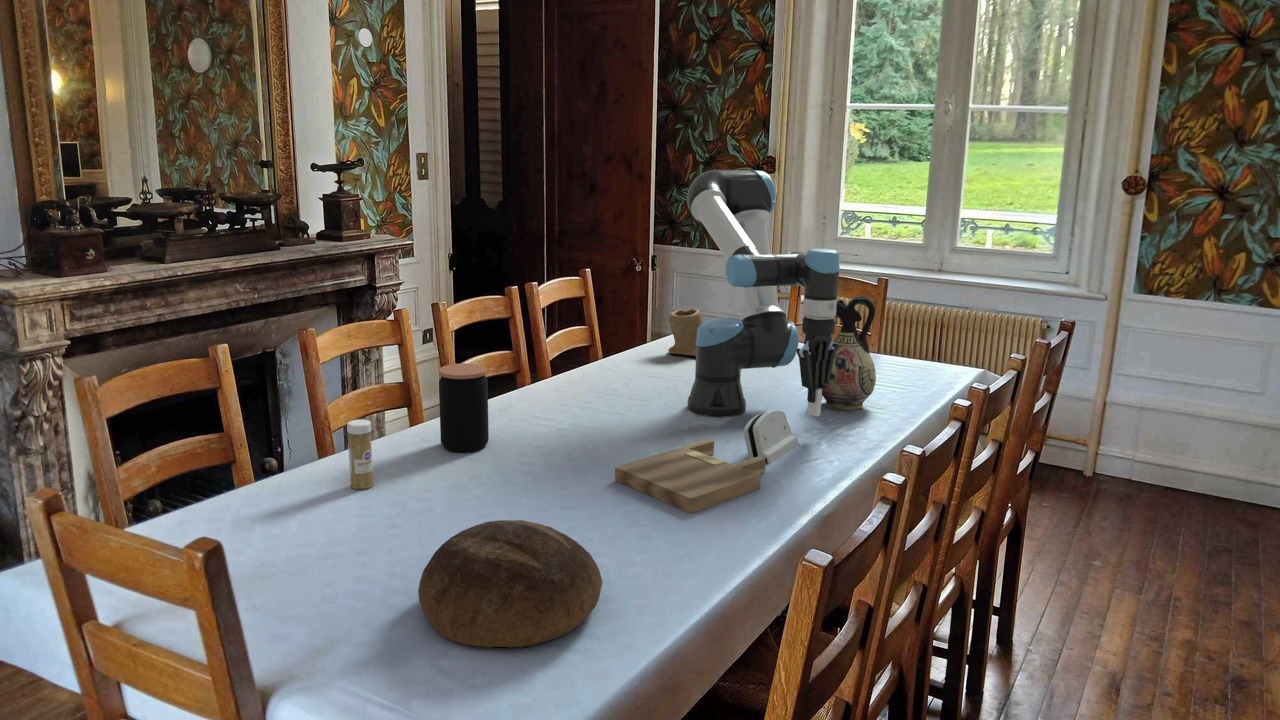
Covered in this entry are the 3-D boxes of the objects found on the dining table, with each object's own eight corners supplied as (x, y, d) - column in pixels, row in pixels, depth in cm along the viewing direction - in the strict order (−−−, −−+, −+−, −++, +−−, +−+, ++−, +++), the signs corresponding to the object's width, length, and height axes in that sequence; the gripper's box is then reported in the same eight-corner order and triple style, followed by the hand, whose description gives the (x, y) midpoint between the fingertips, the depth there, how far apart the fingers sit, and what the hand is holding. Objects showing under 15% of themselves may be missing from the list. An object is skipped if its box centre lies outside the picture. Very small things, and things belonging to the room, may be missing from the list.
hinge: (769, 464, 208) (757, 420, 207) (750, 467, 211) (738, 424, 210) (799, 444, 222) (788, 402, 221) (781, 446, 224) (770, 406, 224)
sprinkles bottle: (365, 491, 188) (362, 426, 185) (345, 488, 189) (341, 424, 186) (378, 483, 192) (375, 420, 189) (358, 480, 194) (355, 417, 190)
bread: (526, 677, 126) (525, 587, 123) (383, 620, 140) (379, 537, 137) (632, 599, 148) (633, 521, 145) (499, 556, 162) (498, 483, 159)
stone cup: (661, 356, 303) (662, 310, 299) (677, 349, 313) (678, 304, 310) (704, 362, 296) (706, 315, 293) (719, 354, 307) (721, 309, 303)
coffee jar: (497, 442, 218) (496, 366, 214) (470, 456, 209) (469, 377, 204) (459, 435, 223) (457, 361, 218) (431, 449, 213) (428, 371, 209)
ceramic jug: (808, 410, 249) (815, 296, 241) (820, 395, 262) (828, 287, 255) (874, 418, 242) (884, 302, 235) (883, 403, 256) (892, 293, 249)
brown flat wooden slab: (613, 480, 197) (613, 465, 196) (707, 451, 215) (707, 438, 214) (690, 513, 181) (691, 497, 180) (784, 479, 199) (785, 464, 198)
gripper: (815, 322, 213) (809, 423, 218) (849, 315, 221) (843, 413, 227) (788, 317, 218) (783, 416, 224) (823, 311, 227) (817, 406, 232)
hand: (813, 414), depth 225 cm, fingers closed
